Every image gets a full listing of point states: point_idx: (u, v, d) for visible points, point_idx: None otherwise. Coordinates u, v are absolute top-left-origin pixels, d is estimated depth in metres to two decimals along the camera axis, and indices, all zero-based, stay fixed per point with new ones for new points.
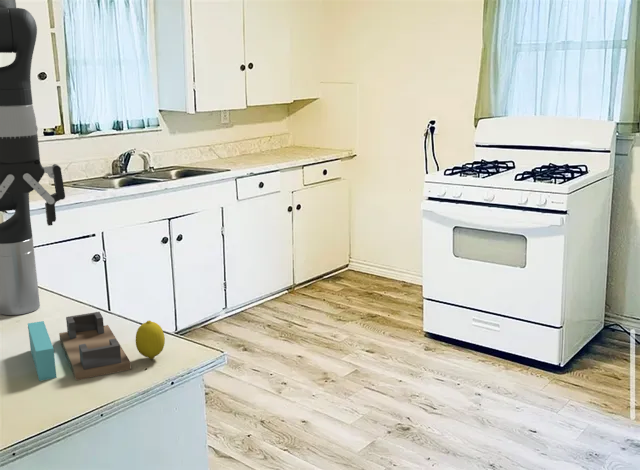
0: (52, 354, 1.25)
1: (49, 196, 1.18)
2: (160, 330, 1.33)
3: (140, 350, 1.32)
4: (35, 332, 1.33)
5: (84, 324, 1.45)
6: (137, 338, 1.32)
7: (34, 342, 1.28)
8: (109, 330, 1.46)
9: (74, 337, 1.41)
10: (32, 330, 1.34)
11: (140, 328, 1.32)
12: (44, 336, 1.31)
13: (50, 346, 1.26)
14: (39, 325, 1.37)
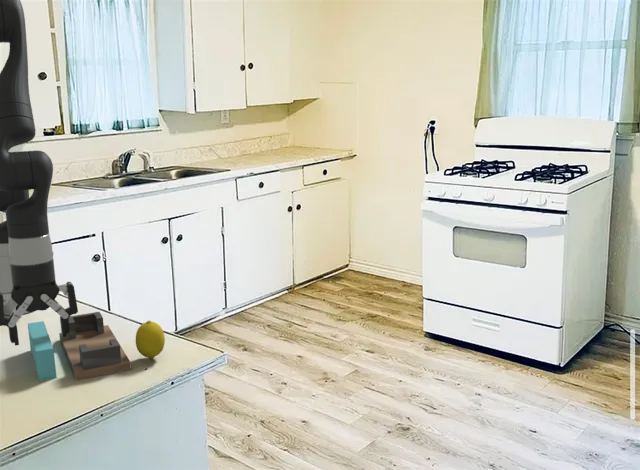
0: (52, 354, 1.25)
1: (63, 312, 1.31)
2: (160, 330, 1.33)
3: (140, 350, 1.32)
4: (35, 332, 1.33)
5: (84, 324, 1.45)
6: (137, 338, 1.32)
7: (34, 342, 1.28)
8: (109, 330, 1.46)
9: (74, 337, 1.41)
10: (32, 330, 1.34)
11: (140, 328, 1.32)
12: (44, 336, 1.31)
13: (50, 346, 1.26)
14: (39, 325, 1.37)
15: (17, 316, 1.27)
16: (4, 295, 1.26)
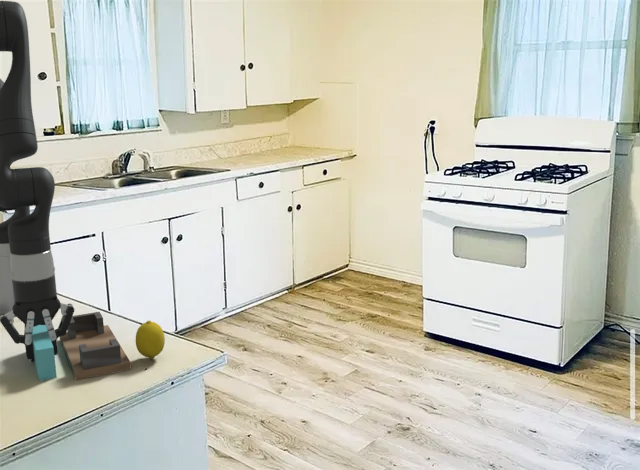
0: (52, 353, 1.25)
1: (54, 333, 1.32)
2: (160, 330, 1.33)
3: (140, 350, 1.32)
4: (35, 331, 1.33)
5: (84, 324, 1.45)
6: (137, 338, 1.32)
7: (34, 341, 1.28)
8: (109, 330, 1.46)
9: (74, 337, 1.41)
10: None
11: (140, 328, 1.32)
12: (44, 335, 1.31)
13: (50, 345, 1.26)
14: None
15: (29, 333, 1.29)
16: (7, 316, 1.28)
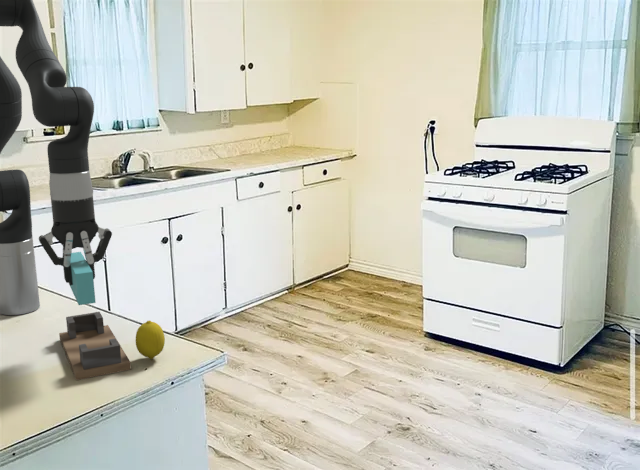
0: (91, 277, 1.26)
1: (91, 257, 1.32)
2: (160, 330, 1.33)
3: (140, 350, 1.32)
4: (73, 260, 1.33)
5: (84, 324, 1.45)
6: (137, 338, 1.32)
7: (73, 267, 1.28)
8: (109, 330, 1.46)
9: (74, 337, 1.41)
10: None
11: (140, 328, 1.32)
12: (82, 262, 1.31)
13: (89, 270, 1.26)
14: (77, 255, 1.37)
15: (68, 255, 1.29)
16: (46, 236, 1.28)
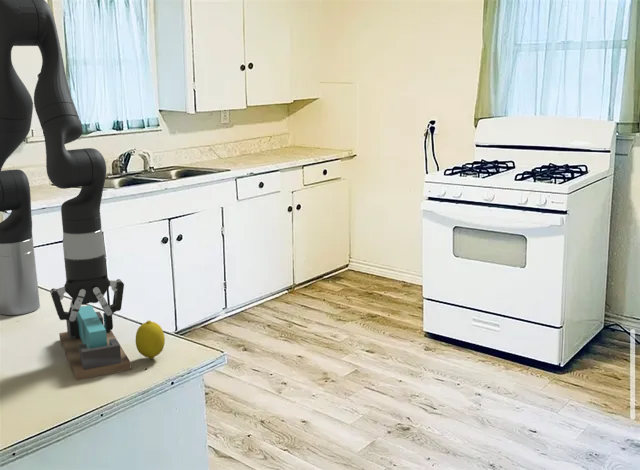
0: (104, 335, 1.30)
1: (109, 308, 1.36)
2: (160, 330, 1.33)
3: (140, 350, 1.32)
4: (85, 315, 1.37)
5: None
6: (137, 338, 1.32)
7: (86, 324, 1.32)
8: None
9: None
10: (81, 313, 1.38)
11: (140, 328, 1.32)
12: (94, 318, 1.35)
13: (102, 328, 1.30)
14: (88, 309, 1.41)
15: (75, 310, 1.32)
16: (59, 291, 1.31)
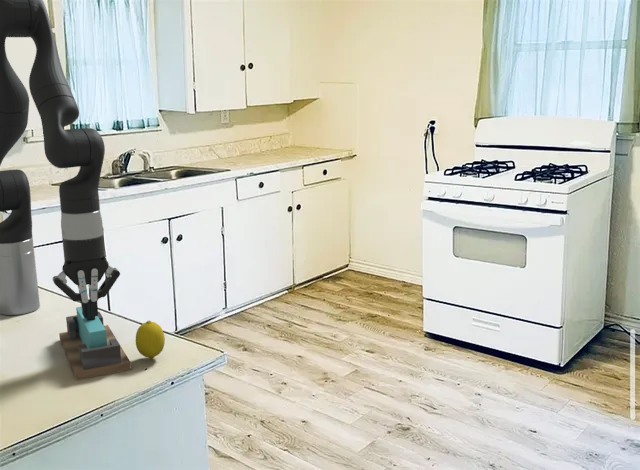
0: (104, 335, 1.30)
1: (95, 295, 1.34)
2: (160, 330, 1.33)
3: (140, 350, 1.32)
4: None
5: None
6: (137, 338, 1.32)
7: (86, 324, 1.32)
8: (109, 330, 1.46)
9: (74, 337, 1.41)
10: (81, 313, 1.38)
11: (140, 328, 1.32)
12: (94, 319, 1.35)
13: (102, 328, 1.30)
14: None
15: (84, 291, 1.32)
16: (59, 277, 1.31)
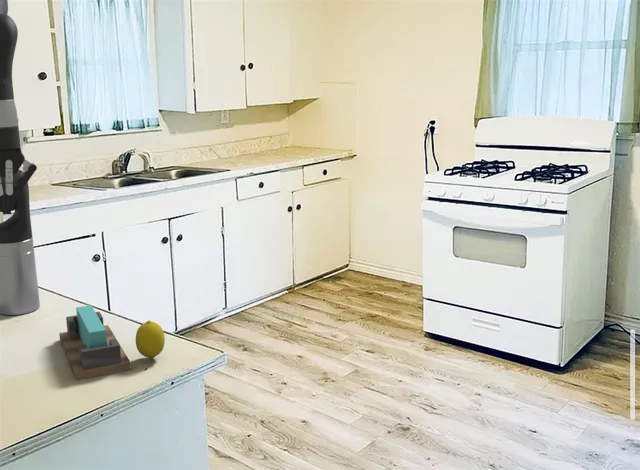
0: (104, 335, 1.30)
1: (11, 188, 1.32)
2: (160, 330, 1.33)
3: (140, 350, 1.32)
4: (85, 315, 1.37)
5: None
6: (137, 338, 1.32)
7: (86, 324, 1.32)
8: (109, 330, 1.46)
9: (74, 337, 1.41)
10: (81, 313, 1.38)
11: (140, 328, 1.32)
12: (94, 318, 1.35)
13: (102, 328, 1.30)
14: (88, 309, 1.41)
15: None
16: None
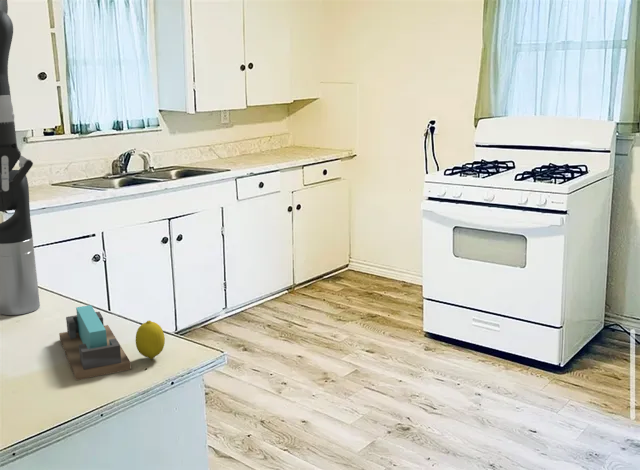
0: (104, 335, 1.30)
1: (7, 184, 1.32)
2: (160, 330, 1.33)
3: (140, 350, 1.32)
4: (85, 315, 1.37)
5: None
6: (137, 338, 1.32)
7: (86, 324, 1.32)
8: (109, 330, 1.46)
9: (74, 337, 1.41)
10: (81, 313, 1.38)
11: (140, 328, 1.32)
12: (94, 318, 1.35)
13: (102, 328, 1.30)
14: (88, 309, 1.41)
15: None
16: None
